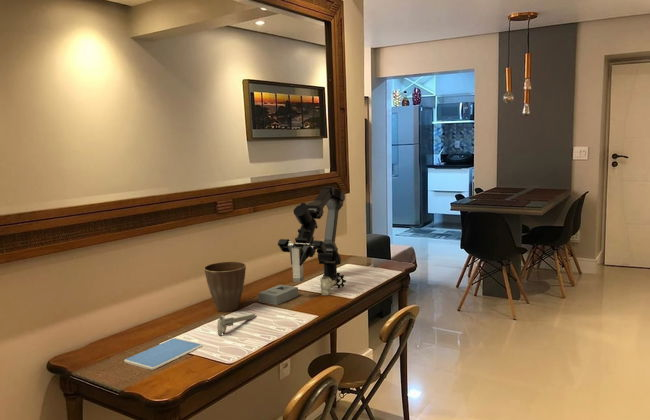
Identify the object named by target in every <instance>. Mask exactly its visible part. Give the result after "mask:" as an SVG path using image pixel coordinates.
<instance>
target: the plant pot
mask: <svg viewBox="0 0 650 420" xmlns="http://www.w3.org/2000/svg"><path fill="white" fill-rule="evenodd" d="M246 268H247V265H246V263H244V262H241V261H222V262H214V263H210V264H208V265H206V266H204V268H203V269H204V274H205V279H206V283H207V287H208V289H209V293H210V296H211V298H212V300H213V303H214V306H215V307H216V309H217V311H219V312H221V313H222V312H223V313H226V312H227V311H228V312H234V311H236V310H237V309H239V308H238V307H239V305H240V302H241V299H242V294H243V289H244V284H245V280H246V279H245V278H246V270H247V269H246ZM225 311H226V312H225ZM228 312H227V313H228Z"/></svg>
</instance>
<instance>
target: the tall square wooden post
mask: <svg viewBox="0 0 650 420" xmlns="http://www.w3.org/2000/svg"><path fill="white" fill-rule="evenodd" d="M301 254H302V247H294V248H292V264H291V266H292V281H293V283H302V282H304V280H305V279H304V263H303V264H302V265H301V266H300V265H299V263H300V258H301Z"/></svg>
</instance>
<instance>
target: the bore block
mask: <svg viewBox="0 0 650 420" xmlns="http://www.w3.org/2000/svg"><path fill="white" fill-rule="evenodd" d="M257 295H258V297H257V298H258V302H259V303H264V304H268V305H269V304H270V305H274V306H278V305H280V304H283V303H285V302H287V301H290V300H292V299H295V298H296V297H299V287H298V286H291V285H286V284H278V285H275V286H273V287H270V288H268V289H265V290H262V291H259V292H258V293H257Z"/></svg>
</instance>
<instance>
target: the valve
mask: <svg viewBox="0 0 650 420" xmlns="http://www.w3.org/2000/svg"><path fill="white" fill-rule="evenodd" d="M333 276H334V278H332V279H330V278H329V277H323V276H322V277H320V284H319V285H320V287H319V288H320V294H321V295H322V296H329V295H331V294H332V293H331V291H332V290H331V289H332V288H333V287H336V289H340V288H344V287H345V283H346V282H347V280H346V279H344V278H345V275H344V274H341V273H340V272H338V271H337V275H336V274H333ZM336 277H338V278H336Z"/></svg>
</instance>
